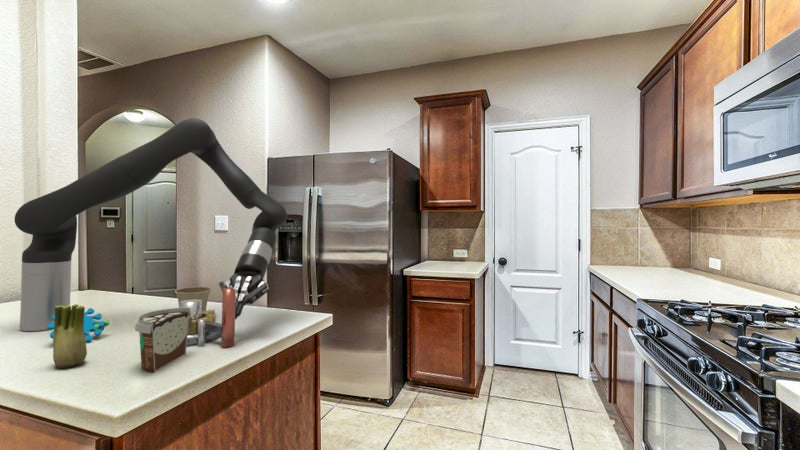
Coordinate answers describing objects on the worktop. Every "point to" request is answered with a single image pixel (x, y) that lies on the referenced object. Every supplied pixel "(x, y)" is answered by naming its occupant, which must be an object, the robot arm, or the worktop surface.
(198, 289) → the flower pot
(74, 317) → the fennel bulb
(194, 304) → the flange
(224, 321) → the reddish rod with blocks
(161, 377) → the worktop surface
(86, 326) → the blue spiky virus model
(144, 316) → the food container
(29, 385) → the worktop surface
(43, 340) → the worktop surface
